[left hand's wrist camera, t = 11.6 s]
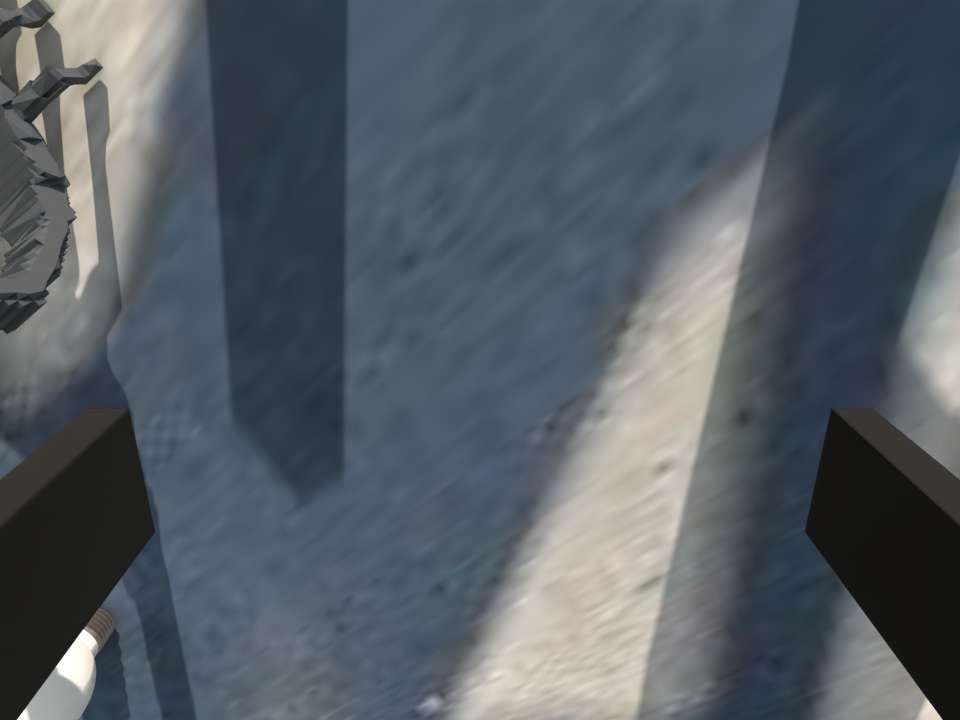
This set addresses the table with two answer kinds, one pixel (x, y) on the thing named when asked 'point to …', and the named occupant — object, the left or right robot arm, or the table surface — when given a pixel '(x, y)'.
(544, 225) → the table surface
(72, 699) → the light bulb
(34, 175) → the toy
